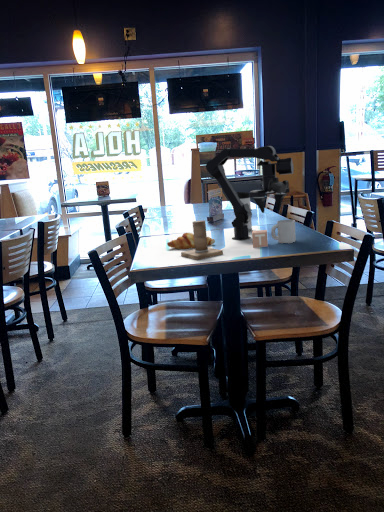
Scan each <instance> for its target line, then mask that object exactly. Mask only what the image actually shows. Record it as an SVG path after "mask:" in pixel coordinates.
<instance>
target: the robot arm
mask: <svg viewBox="0 0 384 512" xmlns="http://www.w3.org/2000/svg"><path fill="white" fill-rule="evenodd" d="M231 157H232V158H254V159H259V162H258V163H257V164H256V166H258V167H261V177H262V178H260V182H262V187H261V189H254V190H250V192H249V193H250V198H252V200H254V202H255V203H256V204H257V206H258V208H259V209H260V212H261V213H262V214H264V213H265V201H266V199H267V197H266V196H267V195H271V194H273V197H274V201H275V206H276V207H275V208H276V210H277V211H280V210H281V206H282V205H283V204H282V203H283V200H284V198H285V197H286V196H287V195H288V193H290V187H289V186H290V183H289V182H290V181H289V180H282V181H279V180H280V179H279V178H278V177H277V175H276V174H278V175H283V176H284V175H294V171H295V170H294V166H295V165H294V162H293V158H292V157H285V158H280V156H279V155H278V154H277V152H276V149H275V148H274V147H273V146H272V145H265V146H264V145H263V146H259V147H253V148H230V147H226V148H223V149H222V150H221V151H220V152H219V153H218V154H217V155H215V156H214V157H213V158H212V160H211V159H210V160H208V161H207V162H206V164H205V169H206V171H207V172H208V174H209V175H210V176H211V177H212V178H213V179H214V180H216V181H217V183H218V185H219V186H220V187H221V189H222V191H223V193H224V194H225V197H227V199H228V201H229V203H230V204H231V206H232V208H233V209H232V210H233V214H234V216H235V218H234V219H233V220H232V222H231V225H232V227H233V233H234V236H233V237H231V239H232V240H238V241H243V240H247V239H251V238H252V236H250V235H249V231H248V225H246V224H248V221H249V220H250V219H251V220H252V217H253V212H252V211H253V210H252V209H250V208H249V205H248V203H246V204H243V203H242V202H241V200H240V199H239V197H238V195H237V194H236V192H237V191H235V188H233V185H232V184H231V182H230V180H229V179H228V177H227V175H226V172H225V171H226V170H225V168H224V165H225V164H226V163H227V161H228V160H229V159H230V158H231ZM271 162H273V163H271Z"/></svg>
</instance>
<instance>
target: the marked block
mask: <svg viewBox="0 0 384 512" xmlns="http://www.w3.org/2000/svg"><path fill="white" fill-rule="evenodd" d="M251 233H252V234H251V235H252V236H251V238H252V248H264V247H265V248H266V247H269V244H268V242H269V241H268V230H267V229H259V230H251Z"/></svg>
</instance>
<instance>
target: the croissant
mask: <svg viewBox="0 0 384 512" xmlns="http://www.w3.org/2000/svg"><path fill="white" fill-rule="evenodd" d="M215 242H216V240H215V239H214V238H211V237H209V236H207V246H211V245H214V244H215ZM166 244H167V246H168V247H170V248H173V249H177V250H190V249H195V242H194V233H193V232H184V233H183V234H182V235H181V236H179V237H178V236H177V238H176V239H174V240H173V239H172V240H171V241H167V243H166ZM189 248H190V249H189Z"/></svg>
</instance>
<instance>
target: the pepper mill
mask: <svg viewBox="0 0 384 512" xmlns="http://www.w3.org/2000/svg"><path fill="white" fill-rule="evenodd" d="M192 228H193V229H192V230H193V232H192V233H193V234H194V242H195V248H194V249H195V252H196V253H204V252H207V251H208V248H209V245H207V237H208V236H207V226H206V220H204V219H203V220H195V221H192Z"/></svg>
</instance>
